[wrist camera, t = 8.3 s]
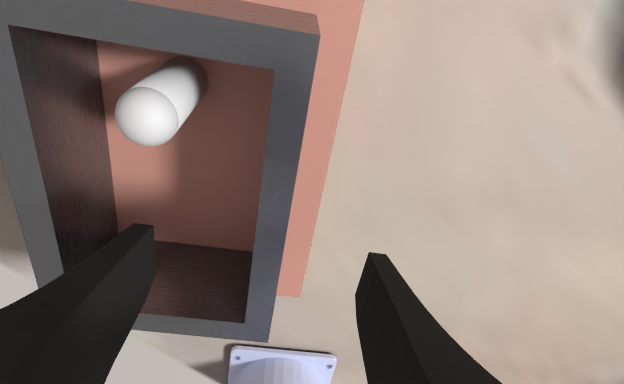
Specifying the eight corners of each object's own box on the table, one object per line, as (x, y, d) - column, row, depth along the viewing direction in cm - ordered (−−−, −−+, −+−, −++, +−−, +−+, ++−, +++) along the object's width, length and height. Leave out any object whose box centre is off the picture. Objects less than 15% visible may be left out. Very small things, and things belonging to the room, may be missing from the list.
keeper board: (299, 280, 25) (298, 381, 19) (77, 254, 24) (-1, 354, 18) (365, -33, 16) (403, -30, 10) (6, -106, 14) (-209, -154, 8)
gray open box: (275, 269, 22) (267, 342, 18) (99, 249, 21) (47, 321, 17) (316, 14, 15) (320, 35, 11) (54, -35, 14) (-52, -33, 10)
